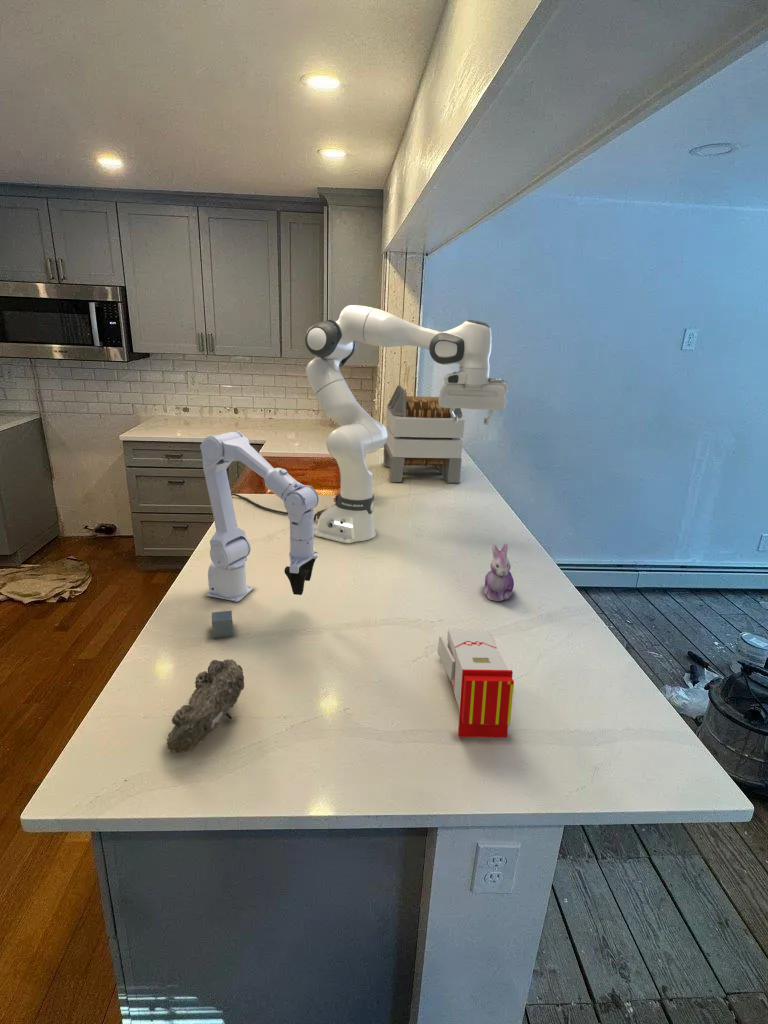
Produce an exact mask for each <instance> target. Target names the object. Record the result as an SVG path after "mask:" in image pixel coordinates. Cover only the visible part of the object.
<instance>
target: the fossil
mask: <svg viewBox="0 0 768 1024" xmlns="http://www.w3.org/2000/svg"><path fill="white" fill-rule="evenodd" d="M243 670H244V669H243V667H242V665H240V664H237V662H236V661H235V660H234V659H232V658H231V659H227V658H226V659H224V660H223V661H222V660H217V659H212V660H211V661H210V663H209V665H208V666H207V671H201V672H199V673H198V674H197V675H196V676H195V680H194V684H195V685H194V687H195V689H194V690H193V693H192V694H191V697H190V698H189V700H188V704H184V705H182V706H181V707H180V709H177V710H176V711H175V713H174V715H173V716H172V718H171V723H172V724H173V727H172V730H171V731H170V732H168V734H167V738H166V741H167V742H166V745H167V749H168V750H169V751H173V752H174V753H176V754H178V753H182V752H188V751H189V752H192V751H193V750H195V748H196V747H197V746H199V744H200V743H201V742H203V741H204V740H205V739H206V738H207V737H208V736H209V735H210V734H211V733H212V732H214V730H215V729H217V727H218V726H219V724H220V722H221V721H222V720H223V719H224V718H225V716H226V717H227V719H229V720H233V717H232V715H230V714H229V710H230V709H231V708H234V706H235V704H236V703H237V702H238V699H239V697H240V695H241V693H242V691H243V690H245V689H244V688H245V675H244V671H243Z"/></svg>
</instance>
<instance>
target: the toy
mask: <svg viewBox="0 0 768 1024" xmlns="http://www.w3.org/2000/svg"><path fill="white" fill-rule="evenodd" d="M446 640H447V643H446V641H445V639H444V636H443V635H442V634H439V637H438V646H437V656H438V657H439V659H440V661H441V663H442V666H443V668H444V670H445V672H446V674H447V677H448V679H449V681H450V684H451V687H452V690H453V693H454V697H455V701H456V705H457V708H458V711H459V714H458V715H459V716H458V730H457V731H458V732H457V737H458V738H508V731H509V726H510V725H511V717H512V707H513V697H514V696H513V695H514V684H515V680H514V679H513V673H514V671H513V670H512V669H508V667H507V665H506V662H505V661H504V659H503V658H502V655H501V653H500V651H499V649H498V647H497V643H496V639H495V637H494V635H493V634H491V632H490V631H489V629H467V628H466V629H465V628H463V629H461V628H460V629H459V628H448V630H447V639H446Z"/></svg>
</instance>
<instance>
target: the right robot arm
mask: <svg viewBox="0 0 768 1024" xmlns="http://www.w3.org/2000/svg"><path fill="white" fill-rule="evenodd" d="M492 339H493V338H492V328H491V326H490V325H489V324H488V323H486V322H484V321H479V320H475V319H466V320H465V321H464V322H462V323H461V324H460V325H458V326H455V327H453V328H451V329H447V330H444V331H442V330H438V329H433V328H429V327H426V326H422V325H418V324H415V323H412V322H410V321H408V320H405V319H404V318H401V317H399V316H397V315H395V314H393V313H391V312H388V311H386V310H384V309H383V310H382V309H379V308H376V307H372V306H368V305H361V304H349V305H346V306H345V307H344V308H343V309H342V310H341V312H340V314H339V316H338V319H337V320H334V319H332V318H330V319H327V320H324V321H320V322H316V323H314V324H313V325H311V326H310V327H308V329H307V330H306V332H305V335H304V344H305V347H306V349H307V350H308V352H309V353H310V354H311V355H313V356H314V358H313V359H311V360H310V361H309V362H308V364H307V365H306V366H305V367H306V368H305V374H306V377H307V380H308V383H309V385H310V387H311V391H312V392H313V394H314V396H315V398H316V400H317V401H318V403H319V405H320V407H321V409H322V411H323V413H324V415H325V416H326V417H327V418H328V419H329V420H331V421H333V422H335V423H336V424H337V425H338V426H339V427H338V428H336V429H333V430H332V431H331V432H330V433H328V435H327V437H326V449H327V451H328V453H329V455H330V456H331V457H332V458H333V459H334V460H335V461H336V464H337V466H338V470H339V476H340V480H339V481H340V484H339V485H340V488H339V489H340V490H339V491H338V492H337V494H336V495H335V496H334V497H333V502H334V504H333V505H331V506H329V507H327V508H324V509H321V510H318V511H317V512H316V513H314V522H315V521H316V520H318V521H317V523H315V524H314V537H319V538H323V539H326V540H330V541H336V542H339V543H343V544H352V543H357V542H365V541H368V540H372V539H373V538H375V537H376V535H377V532H376V528H375V523H374V513H373V512H374V509H375V496H374V473H373V471H372V470H371V469H369V468H368V465H367V461H366V460H367V459H366V456H367V455H370V454H372V453H376V452H378V451H379V450H380V449H382V448H384V445H385V443H386V441H387V430H386V426H385V425H384V424H383V423H382V422H380V421H378V420H376V419H375V418H374V417H372V416H371V415H370V414H369V413H368V412H367V411H366V409H364V408H363V407H362V405H361V404H360V403H359V402H358V401H357V399H356V397H355V396H354V394H353V393H352V390H351V389H350V387H349V385H348V383H347V382H346V379H345V378H344V376H343V374H342V372H341V370H340V367H343V366H344V365H345V364H346V363H347V361H348V360H349V359H350V358H352V356H354V354H355V353H356V350H357V345H358V342H359V343H362V344H367V345H370V346H374V347H382V348H393V347H404V346H410V347H412V346H413V347H418V348H421V349H426V350H428V351H429V355H430V357H431V359H432V360H433V361H434V362H435V363H437V364H440V365H444V366H446V365H448V366H449V365H454V364H459V370H457V371H454V372H451V373H447V374H445V376H444V377H443V382H444V383H443V384H442V386H441V387H440V390H439V394H438V395H439V396H438V397H439V402H438V404H439V406H440V407H444V408H450V413H451V415H452V417H453V423H457V422H458V420H457V419H458V416H455V415H454V410H455V408H461V409H462V410H463V409H464V410H482V411H483V410H485V411H487V413H488V415H487V417H484V418H483V425H484V426H486V425H487V426H488V425H489V422H490V419H491V417H492V416H493V415H494V411H499V412H500V411H501V412H503V411H504V410H505V409H506V407H507V406H506V403H507V401H506V400H507V399H506V398H507V397H506V395H507V394H508V392H509V382H508V381H507V380H505V379H504V378H495V377H494V378H493V377H490V369H491V368H490V367H491V366H490V356H491V353H492ZM231 496H234V497H238V498H240V499H243V500H245V501H247V502H248V503H250V504H252V505H254V506H256V507H258V508H260V509H263V510H267V511H269V512H273V513H278V514H283V515H288V512H287V511H281V510H277V509H273V508H269V507H266V506H263V505H260V504H259V503H256V502H254V501H252V500H251V499H249V498H247V497H245V496H244V495H243V496H242V495H240V494H237V493H231Z"/></svg>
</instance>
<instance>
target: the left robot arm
mask: <svg viewBox="0 0 768 1024" xmlns="http://www.w3.org/2000/svg"><path fill="white" fill-rule="evenodd" d="M199 448H200V452H201V457H202V468H203V474H204V478H205V483H206V487H207V492H208V497H209V502H210V507H211V512H212V516H213V522H214V526H215V532H214V533H213V535H212V537H211V539H210V540H209V544H210V545H209V546H210V551H209V558H210V560H211V563H210V564H209V566H208V570H207V583H208V593H207V596H208V597H211V598H217V599H221V600H226V601H231V602H236V603H238V602H240V601H241V600H243V598H245V597H246V596H247V595H248V594H249V593H250V592H252V591H253V590H254V588H253V587H252V586H247V571H246V562H247V561H248V557H249V556H250V554H251V552H252V546H251V542H250V541H249V539H248V538H247V534H246V531H245V530H243V529H242V528H240V527H238V522H237V516H236V512H235V507H234V502H233V501H234V500H233V497H232V496H233V495H232V496H231V494H232V492H231V487H230V481H229V476H228V472H227V469H228V468H229V466H230V465H231V463H232V462H241V463H242V464H243V465H245V466H246V467H247V468H249V469H250V470H252V471H253V472H254V473H255V474H257V475H258V476H260V477H261V478H263V481H264V486H265V487H266V488H267V489H268V490H270V491H271V492H272V493H273V494H274V495H275V496H277V498H279V499H280V500H281V501H282V502H283V506H284V509H285V510H286V512H288V514H287V519H288V520H289V554H288V558H289V566H288V565H286V566H285V568H284V574H285V576H286V577H287V579H288V581H289V584H290V587H291V591H292V594H293V595H294V596H295V595H296V596H302V595H303V593H304V588H305V583H306V582H310V581H311V578H312V574H313V570H314V565H315V563H316V560H317V559H318V558H319V553H318V551H315V550H314V549H315V546H314V543H315V542H314V541H315V540H314V538H315V535H314V525H315V521H314V515H315V508H316V507H317V506H318V505H319V501H320V500H319V498H320V497H319V494H318V492H317V490H316V489H314V487H313V486H312V485H308V484H307V485H306V484H303V483H301V482H300V481H297V480H296V479H295V478H294V477H293V476H292V475H290V474H289V473H288V470H287V469H285V468H282V467H273V466H272V465H271V463H269V462H268V461H267V460H266V459H265V458H264V457H263V456H262V455H261V454H260V453H259V452H258V451H257V450H256V449H255V448H254V447H253V446H252V445H251V444H250V440H249V438H248V437H247V436H245V435H244V434H243V433H242V432H241V431H239V430H231V431H228V432H225V433H220V434H216V435H208V436H206V437H205V438H204V439H203V441H202V442H201V443H200V445H199Z"/></svg>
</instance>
